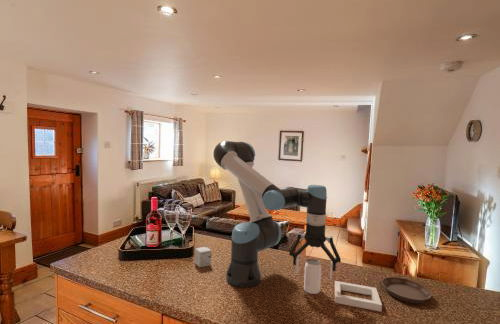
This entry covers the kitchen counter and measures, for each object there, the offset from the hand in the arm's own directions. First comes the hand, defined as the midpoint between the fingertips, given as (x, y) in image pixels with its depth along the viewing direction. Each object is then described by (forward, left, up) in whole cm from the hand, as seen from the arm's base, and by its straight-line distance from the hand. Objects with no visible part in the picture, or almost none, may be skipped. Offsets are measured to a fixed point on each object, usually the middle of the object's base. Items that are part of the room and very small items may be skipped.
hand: (313, 275), depth 110 cm
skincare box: (-52, +6, -7) cm, 53 cm away
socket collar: (+17, +1, -6) cm, 18 cm away
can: (0, 0, -7) cm, 7 cm away
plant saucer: (+37, +12, -7) cm, 39 cm away
